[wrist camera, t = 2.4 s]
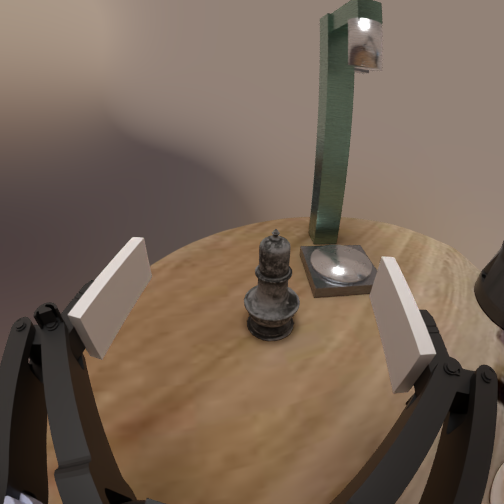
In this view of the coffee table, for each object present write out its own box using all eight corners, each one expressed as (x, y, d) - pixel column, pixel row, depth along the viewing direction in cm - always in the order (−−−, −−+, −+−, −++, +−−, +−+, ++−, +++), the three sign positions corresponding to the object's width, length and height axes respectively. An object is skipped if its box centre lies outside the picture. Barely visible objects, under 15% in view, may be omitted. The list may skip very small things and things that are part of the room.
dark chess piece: (236, 314, 32) (232, 222, 26) (279, 300, 35) (286, 211, 28) (258, 350, 28) (261, 253, 22) (306, 331, 30) (322, 237, 24)
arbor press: (344, 232, 50) (359, -16, 25) (382, 292, 35) (414, -49, 11) (292, 232, 49) (299, -28, 25) (314, 297, 35) (331, -77, 10)
